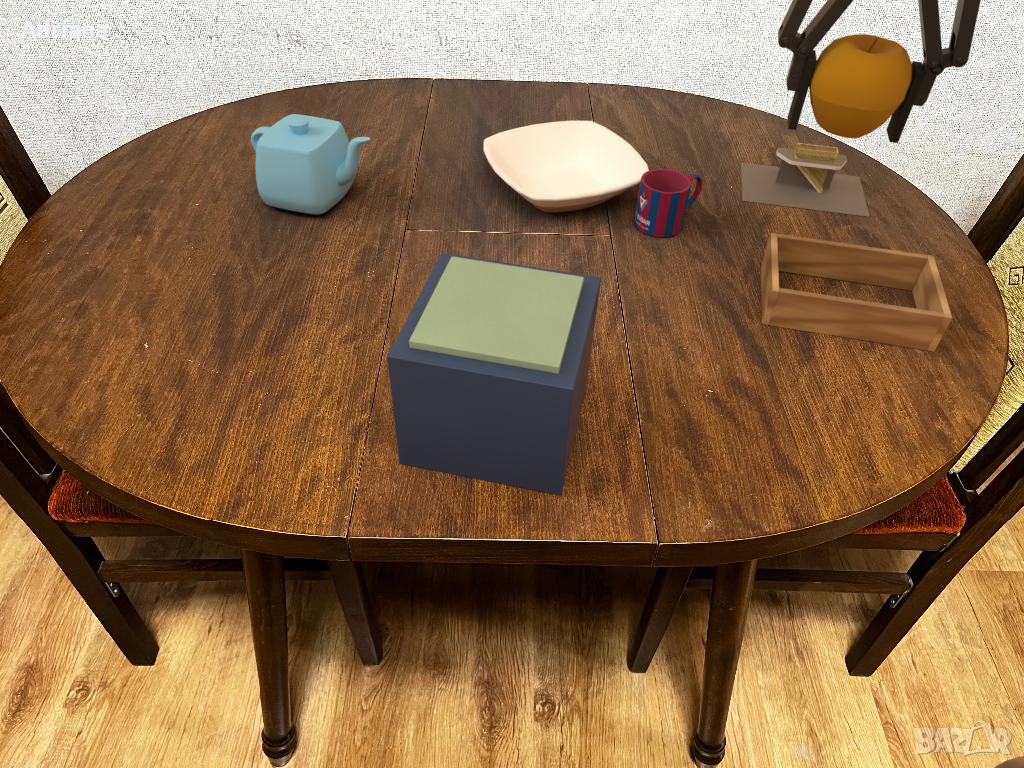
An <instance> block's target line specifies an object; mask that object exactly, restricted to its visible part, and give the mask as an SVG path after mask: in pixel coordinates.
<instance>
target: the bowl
mask: <svg viewBox="0 0 1024 768" xmlns="http://www.w3.org/2000/svg"><path fill="white" fill-rule="evenodd" d="M483 153H484V155H485V158H486V160H487V162H488V164H489V165H490V167H491V168H492V170H493V171H494V172H495V174H497V175H498V176H499V177H500V179H501V180H503V181H504V182H505V183H506V184H507V185H508V186H509V187H510V188H511V189H513V190H514V191H515V192H516V193H518V194H519V195H520V196H521V197H522V198H524V199H525V200H526V201H527V202H529V203H530V204H531V205H532V206H533V207H535V208H536V209H538V210H540V211H541V212H543V213H565V212H574V211H579V210H584V209H589V208H593V207H596V206H598V205H601V204H604V203H606V202H609V200H612V199H613V198H615V197H617V196H619V195H622V193H624V192H626V191H628V190H629V189H632V188H633V187H635V186H637V185H638V184H640V182H641V176H642V175H643V174H644V173H645V172H647V171H649V170H650V169H649V166H648V163H647V162H646V161H645V160H644V158H643V157H642V156H641V154H640V153H639V152H638V151H637V150H636V149H635V148H634V147H633V146H632V145H631V144H630V143H629V142H628V141H626V140H625V138H623V137H621V136H620V135H618V134H617V133H615V132H614V131H612V130H610V129H609V128H607V127H606V126H603V125H602V124H599V123H597V122H594V121H593V120H560V121H550V122H543V123H535V124H530V125H526V126H525V125H524V126H521V127H516V128H512V129H508V130H503V131H501V132H497V133H495V134H493V135H491V136H489V137H486V138H485V139H483Z"/></svg>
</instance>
